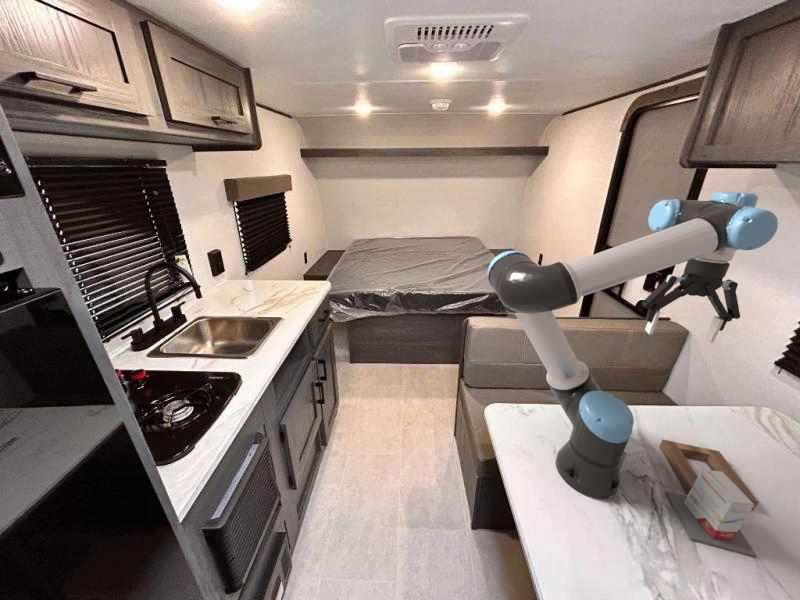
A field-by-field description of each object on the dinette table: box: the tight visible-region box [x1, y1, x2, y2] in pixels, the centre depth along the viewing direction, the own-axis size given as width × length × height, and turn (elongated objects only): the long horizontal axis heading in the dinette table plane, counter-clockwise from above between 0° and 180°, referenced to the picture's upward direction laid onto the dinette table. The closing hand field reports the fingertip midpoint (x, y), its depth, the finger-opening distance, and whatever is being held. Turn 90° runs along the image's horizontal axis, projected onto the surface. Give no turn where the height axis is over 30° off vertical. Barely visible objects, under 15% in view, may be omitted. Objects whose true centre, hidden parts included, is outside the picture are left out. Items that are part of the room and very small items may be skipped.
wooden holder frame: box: [659, 439, 760, 511], centre depth 87 cm, size 14×16×3 cm
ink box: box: [684, 469, 754, 539], centre depth 73 cm, size 9×5×12 cm, turn 176°
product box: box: [618, 437, 644, 473], centre depth 90 cm, size 6×6×7 cm
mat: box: [665, 490, 758, 558], centre depth 76 cm, size 12×12×1 cm
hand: (677, 336), depth 85 cm, fingers open, 13 cm apart
